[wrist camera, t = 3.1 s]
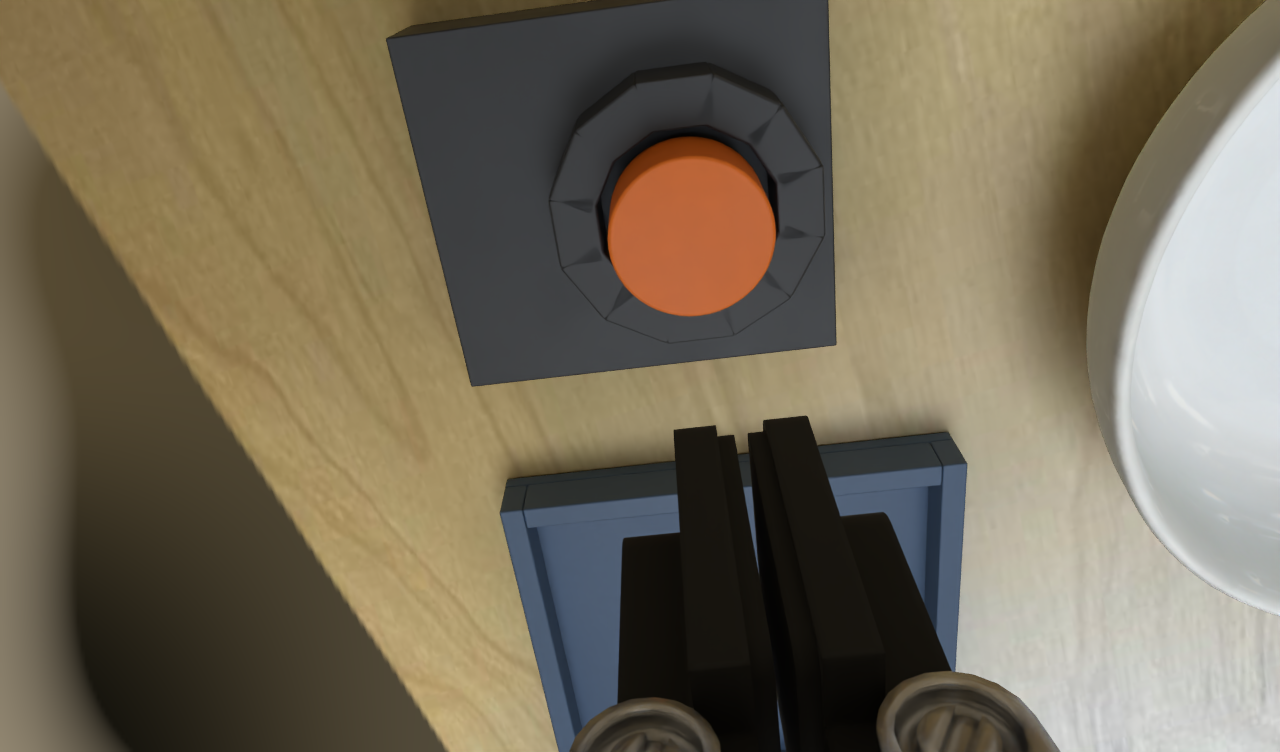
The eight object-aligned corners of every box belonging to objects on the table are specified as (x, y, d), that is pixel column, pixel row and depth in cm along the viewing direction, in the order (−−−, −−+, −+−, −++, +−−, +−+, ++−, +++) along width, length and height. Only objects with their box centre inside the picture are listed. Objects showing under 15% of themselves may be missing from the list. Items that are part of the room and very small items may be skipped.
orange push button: (621, 294, 24) (619, 326, 22) (598, 146, 22) (595, 167, 20) (769, 277, 23) (780, 307, 22) (760, 125, 22) (771, 145, 20)
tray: (576, 770, 39) (573, 811, 37) (506, 479, 31) (499, 512, 30) (934, 738, 38) (949, 779, 36) (948, 431, 30) (967, 463, 29)
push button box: (484, 348, 29) (460, 417, 25) (409, 25, 24) (365, 48, 20) (819, 309, 28) (849, 374, 24) (808, -30, 24) (843, -17, 20)
